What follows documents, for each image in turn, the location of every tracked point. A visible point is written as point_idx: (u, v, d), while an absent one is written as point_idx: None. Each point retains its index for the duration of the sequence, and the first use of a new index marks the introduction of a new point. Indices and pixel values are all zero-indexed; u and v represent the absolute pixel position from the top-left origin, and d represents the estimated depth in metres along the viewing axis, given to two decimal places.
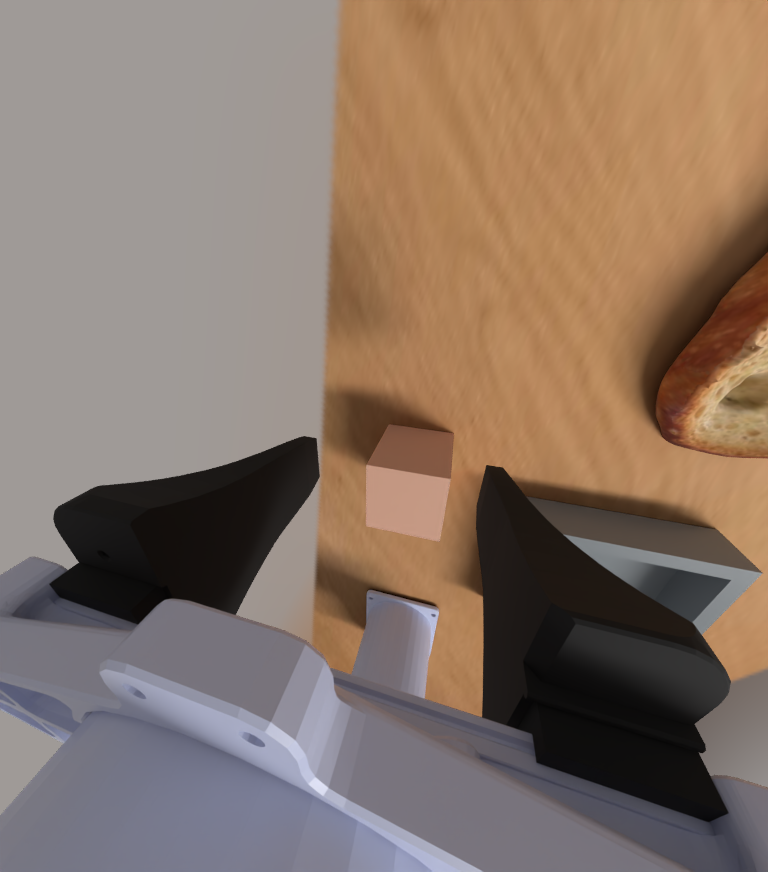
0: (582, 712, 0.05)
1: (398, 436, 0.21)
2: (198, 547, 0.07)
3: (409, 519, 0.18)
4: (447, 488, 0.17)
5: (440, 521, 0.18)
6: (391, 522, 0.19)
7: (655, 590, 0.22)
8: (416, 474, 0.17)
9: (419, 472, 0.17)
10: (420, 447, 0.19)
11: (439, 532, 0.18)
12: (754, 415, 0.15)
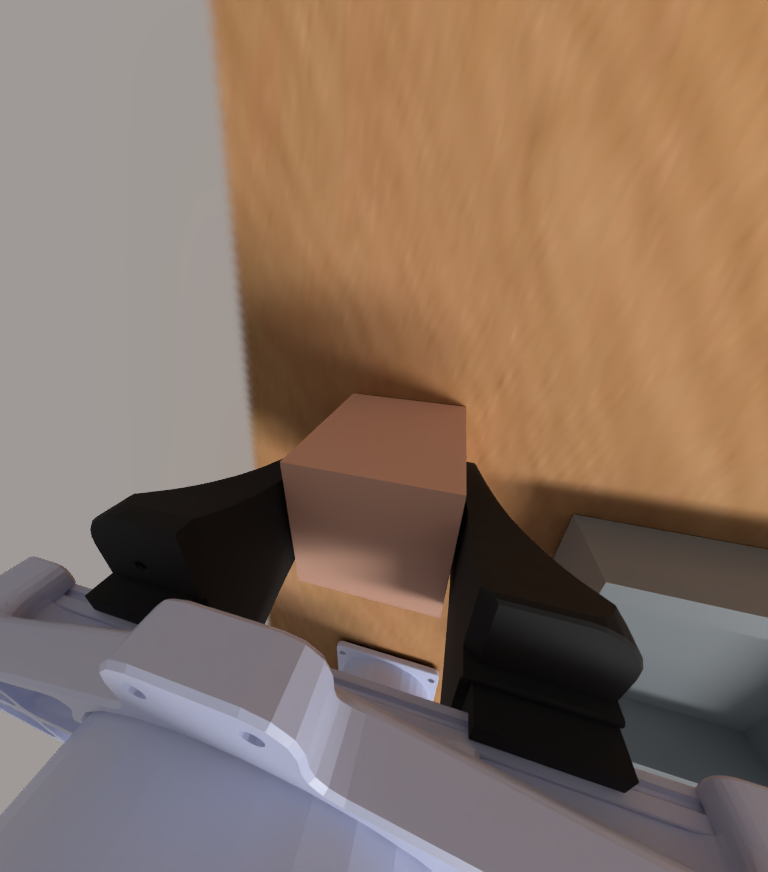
0: (512, 691, 0.05)
1: (364, 411, 0.11)
2: (234, 557, 0.07)
3: (378, 574, 0.09)
4: (458, 516, 0.07)
5: (441, 582, 0.08)
6: (343, 578, 0.10)
7: None
8: (386, 483, 0.07)
9: (394, 479, 0.07)
10: (403, 429, 0.10)
11: (439, 602, 0.09)
12: None
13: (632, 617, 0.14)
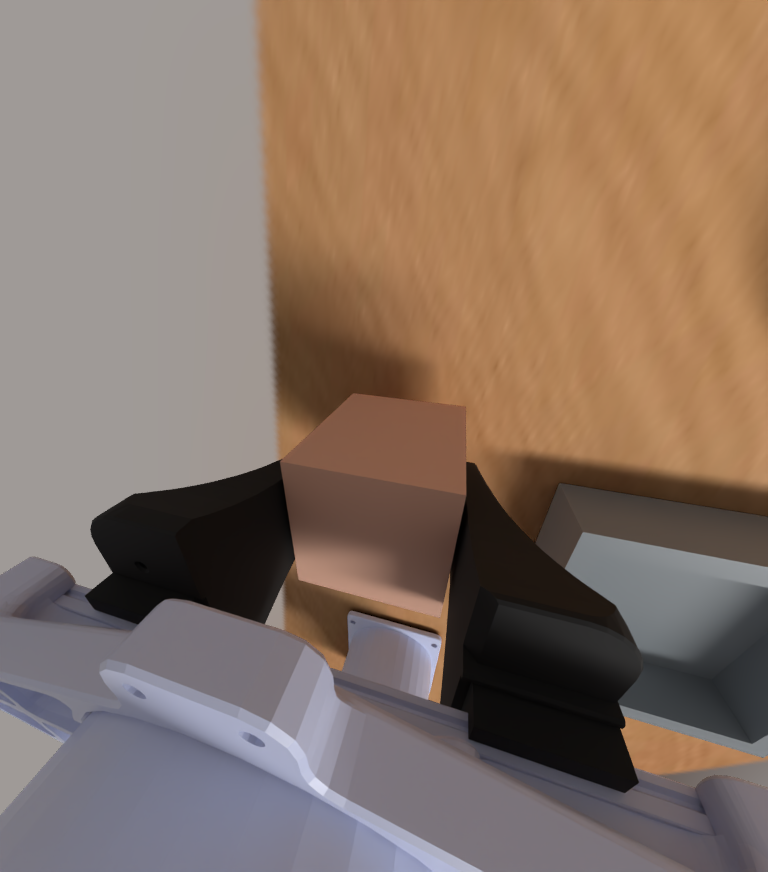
0: (513, 691, 0.05)
1: (364, 410, 0.11)
2: (234, 556, 0.07)
3: (378, 574, 0.09)
4: (458, 516, 0.07)
5: (441, 581, 0.08)
6: (343, 577, 0.10)
7: (764, 625, 0.15)
8: (386, 483, 0.07)
9: (394, 479, 0.07)
10: (403, 429, 0.10)
11: (439, 601, 0.09)
12: None
13: (611, 575, 0.16)
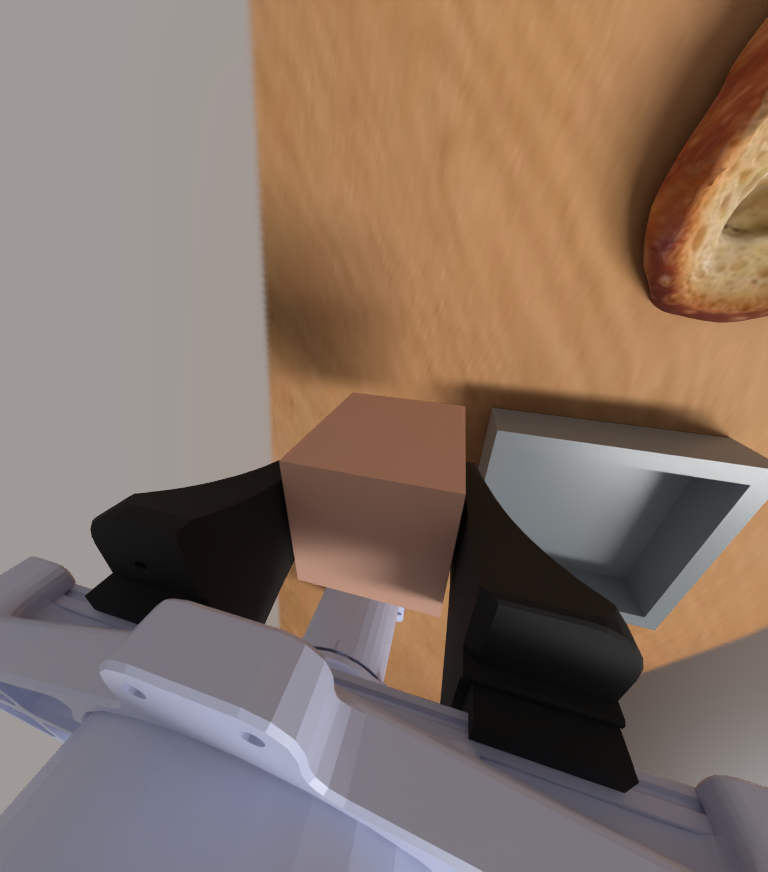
0: (513, 692, 0.05)
1: (364, 410, 0.11)
2: (234, 557, 0.07)
3: (377, 573, 0.09)
4: (457, 515, 0.07)
5: (440, 581, 0.08)
6: (343, 577, 0.10)
7: (654, 523, 0.19)
8: (385, 482, 0.07)
9: (393, 478, 0.07)
10: (403, 428, 0.10)
11: (439, 601, 0.09)
12: None
13: (537, 486, 0.20)
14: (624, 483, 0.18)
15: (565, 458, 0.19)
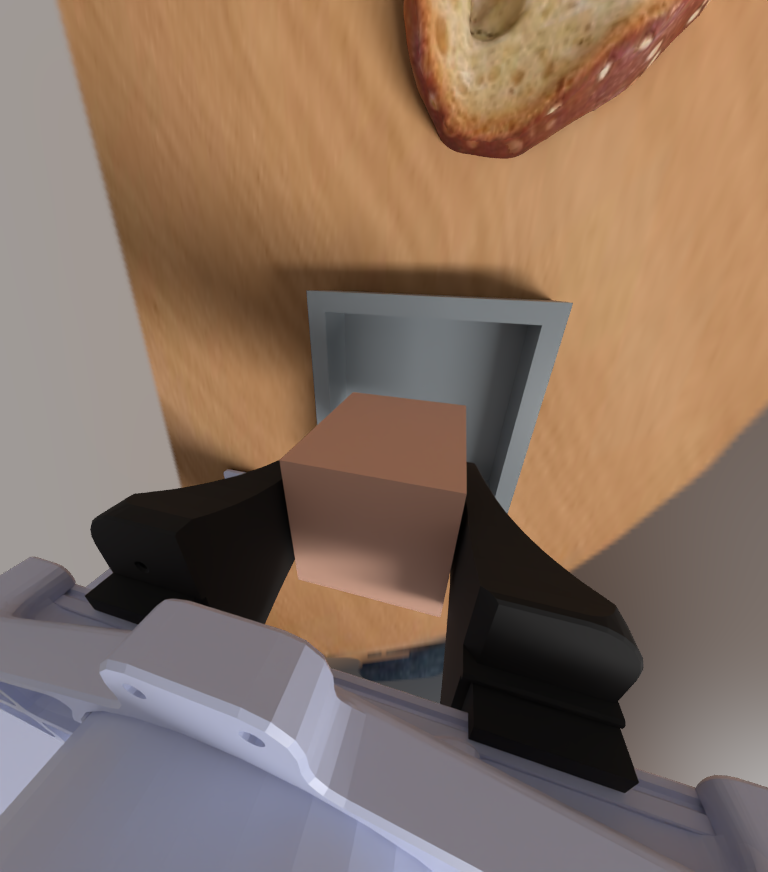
0: (513, 691, 0.05)
1: (364, 409, 0.11)
2: (234, 556, 0.07)
3: (378, 573, 0.09)
4: (458, 514, 0.07)
5: (441, 581, 0.08)
6: (343, 576, 0.09)
7: (501, 408, 0.19)
8: (386, 482, 0.07)
9: (394, 477, 0.07)
10: (403, 427, 0.10)
11: (440, 601, 0.09)
12: (512, 40, 0.11)
13: (388, 376, 0.19)
14: (464, 363, 0.18)
15: (405, 339, 0.18)
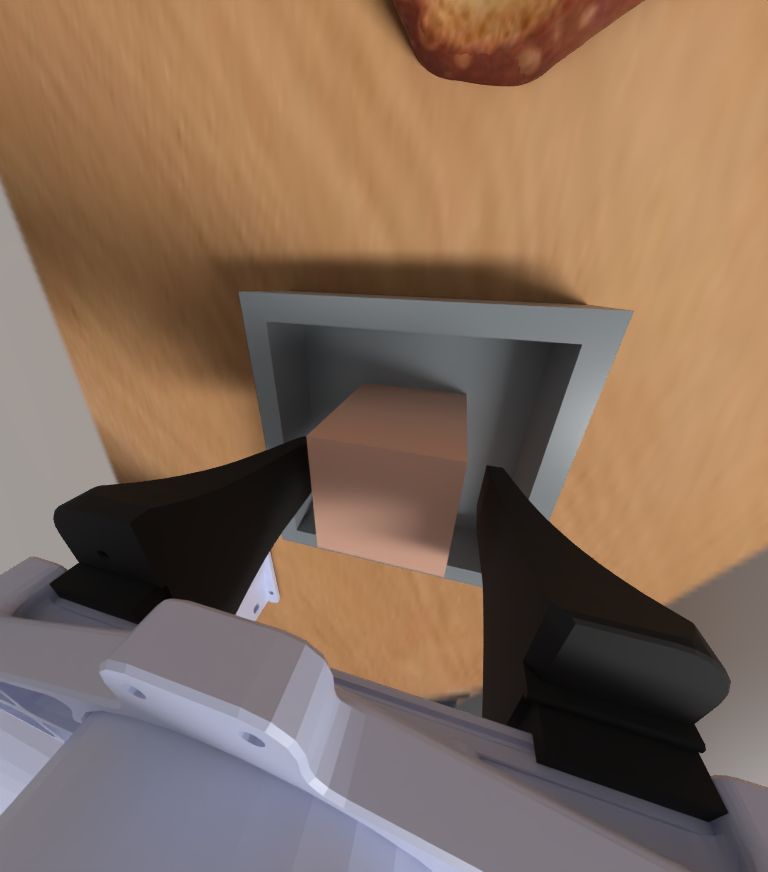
0: (582, 712, 0.05)
1: (375, 397, 0.12)
2: (198, 547, 0.07)
3: (390, 537, 0.10)
4: (460, 480, 0.08)
5: (445, 542, 0.10)
6: (358, 542, 0.11)
7: (513, 448, 0.14)
8: (399, 453, 0.09)
9: (406, 449, 0.09)
10: (411, 411, 0.11)
11: (444, 561, 0.10)
12: None
13: None
14: (463, 389, 0.13)
15: (384, 357, 0.13)
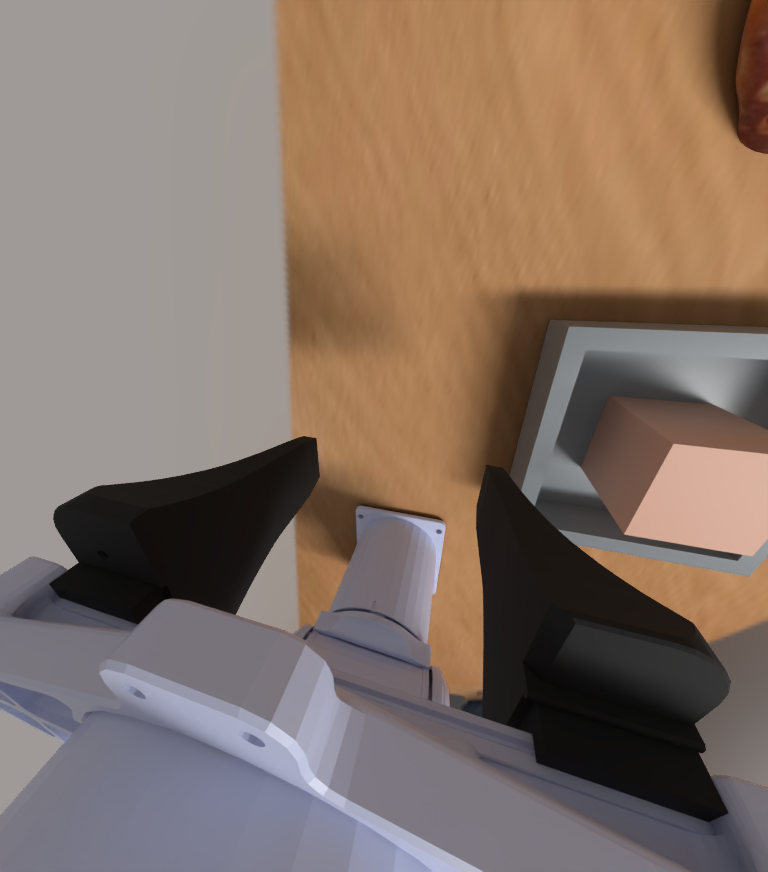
0: (582, 713, 0.05)
1: (648, 409, 0.15)
2: (198, 547, 0.07)
3: (712, 524, 0.13)
4: None
5: None
6: (674, 529, 0.13)
7: None
8: (766, 455, 0.11)
9: None
10: (705, 421, 0.14)
11: (760, 543, 0.12)
12: None
13: None
14: (711, 400, 0.16)
15: (638, 374, 0.16)
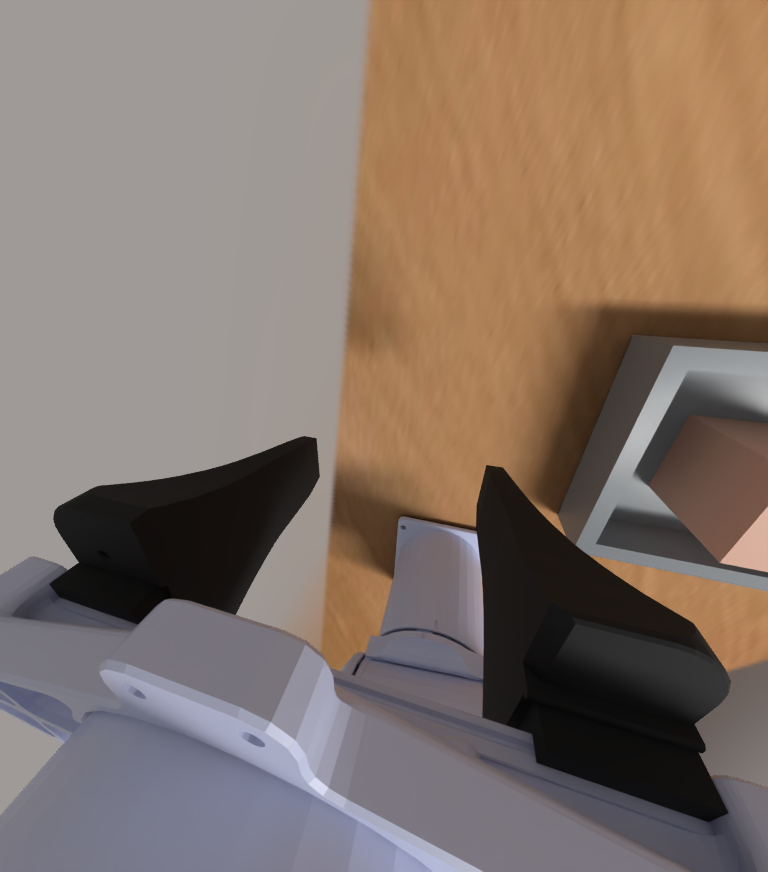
0: (582, 713, 0.05)
1: (740, 431, 0.14)
2: (198, 547, 0.07)
3: None
4: None
5: None
6: None
7: None
8: None
9: None
10: None
11: None
12: None
13: None
14: None
15: (725, 394, 0.15)
